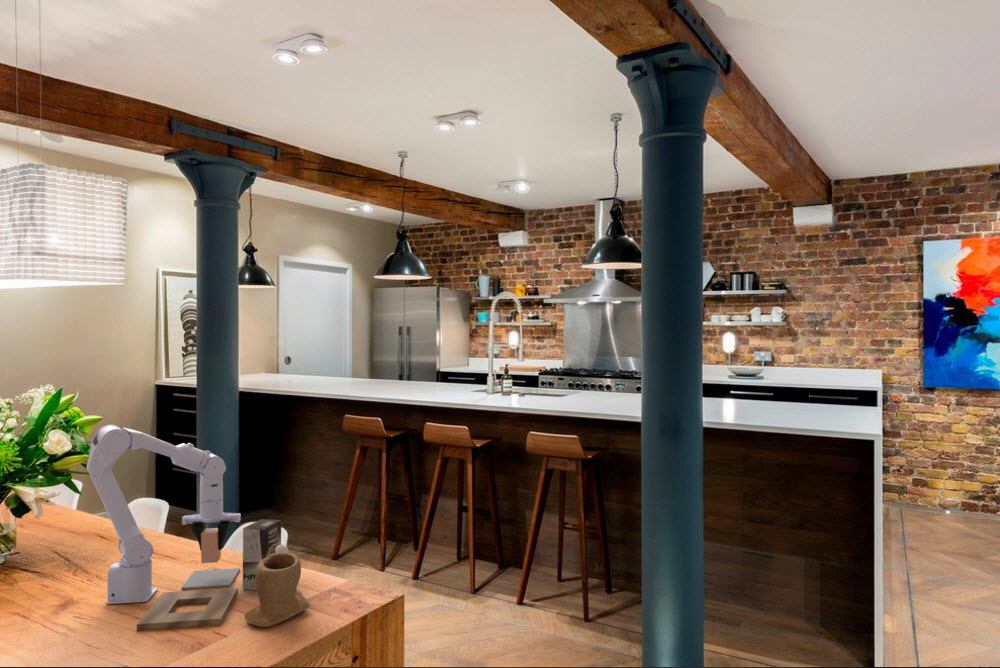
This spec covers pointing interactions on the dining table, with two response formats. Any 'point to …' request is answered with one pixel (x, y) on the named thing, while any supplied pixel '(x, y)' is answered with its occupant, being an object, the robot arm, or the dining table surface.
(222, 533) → the robot arm
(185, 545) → the dining table surface
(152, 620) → the walnut pocket board
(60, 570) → the dining table surface
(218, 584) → the slate mat
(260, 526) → the coffee box
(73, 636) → the dining table surface
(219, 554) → the terracotta block
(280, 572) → the stone cup
